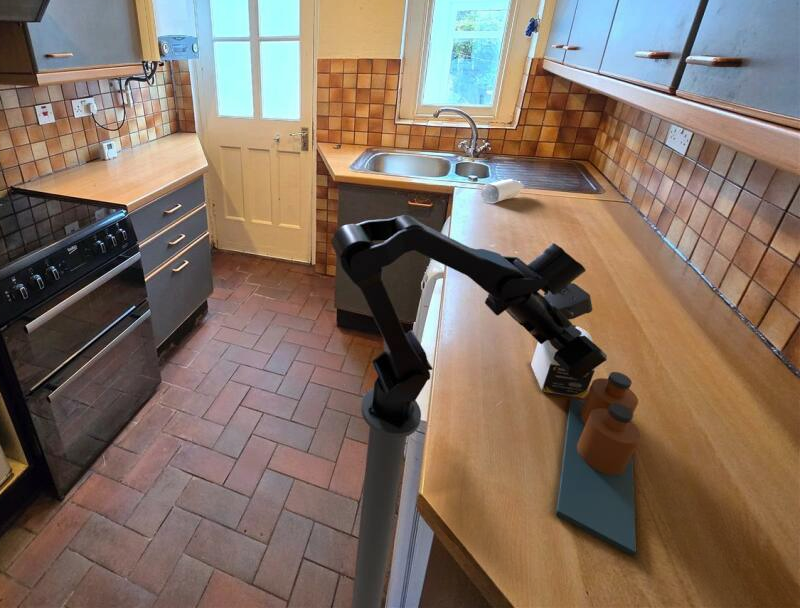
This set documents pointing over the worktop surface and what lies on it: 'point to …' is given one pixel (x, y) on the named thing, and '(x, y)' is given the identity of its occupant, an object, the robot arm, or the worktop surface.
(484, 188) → the white bottle
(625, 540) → the tray
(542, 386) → the medicine bottle
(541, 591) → the worktop surface
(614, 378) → the amber bottle far
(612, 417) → the amber bottle near
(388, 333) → the robot arm
